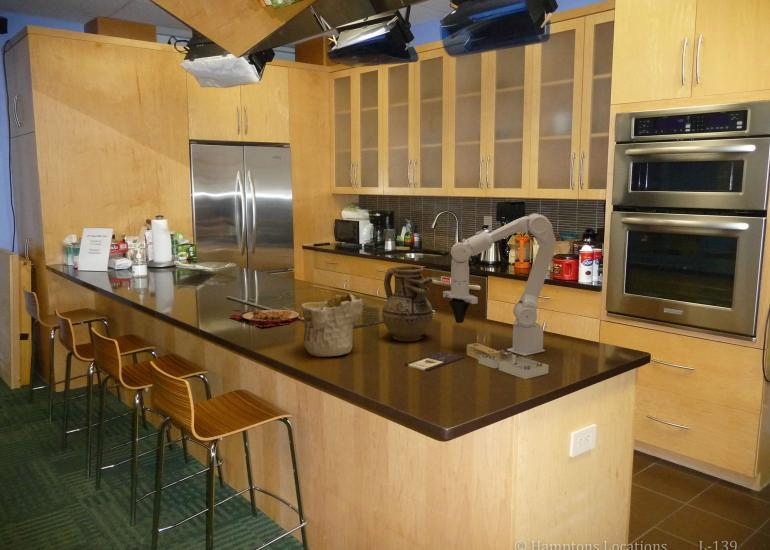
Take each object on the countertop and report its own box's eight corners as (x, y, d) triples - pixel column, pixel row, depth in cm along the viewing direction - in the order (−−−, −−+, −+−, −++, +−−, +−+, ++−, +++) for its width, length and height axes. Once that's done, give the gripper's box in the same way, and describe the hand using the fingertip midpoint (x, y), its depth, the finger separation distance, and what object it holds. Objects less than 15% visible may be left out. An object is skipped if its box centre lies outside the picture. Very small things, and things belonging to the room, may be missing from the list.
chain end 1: (500, 358, 193) (500, 348, 193) (515, 363, 188) (516, 353, 188) (478, 363, 188) (478, 353, 188) (493, 368, 183) (494, 358, 182)
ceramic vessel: (266, 331, 199) (302, 271, 206) (312, 362, 212) (344, 305, 219) (302, 342, 184) (339, 277, 191) (350, 375, 197) (383, 313, 204)
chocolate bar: (464, 356, 194) (428, 369, 181) (464, 359, 194) (428, 372, 181) (441, 351, 200) (404, 363, 187) (441, 354, 200) (404, 366, 187)
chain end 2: (520, 364, 186) (521, 355, 186) (548, 373, 178) (548, 363, 177) (498, 370, 181) (498, 360, 181) (525, 379, 173) (526, 368, 172)
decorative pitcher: (367, 337, 221) (366, 267, 217) (403, 329, 233) (403, 262, 229) (411, 348, 205) (411, 273, 201) (447, 339, 217) (447, 268, 213)
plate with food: (263, 331, 234) (262, 322, 234) (228, 318, 254) (228, 309, 253) (316, 322, 251) (316, 313, 250) (280, 310, 270) (280, 302, 270)
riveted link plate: (477, 353, 200) (477, 342, 199) (500, 363, 189) (500, 351, 188) (466, 355, 198) (466, 343, 197) (489, 365, 187) (489, 353, 187)
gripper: (435, 279, 202) (435, 320, 205) (465, 284, 191) (465, 328, 193) (452, 276, 206) (452, 317, 208) (482, 282, 195) (482, 325, 197)
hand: (459, 322), depth 201 cm, fingers closed
